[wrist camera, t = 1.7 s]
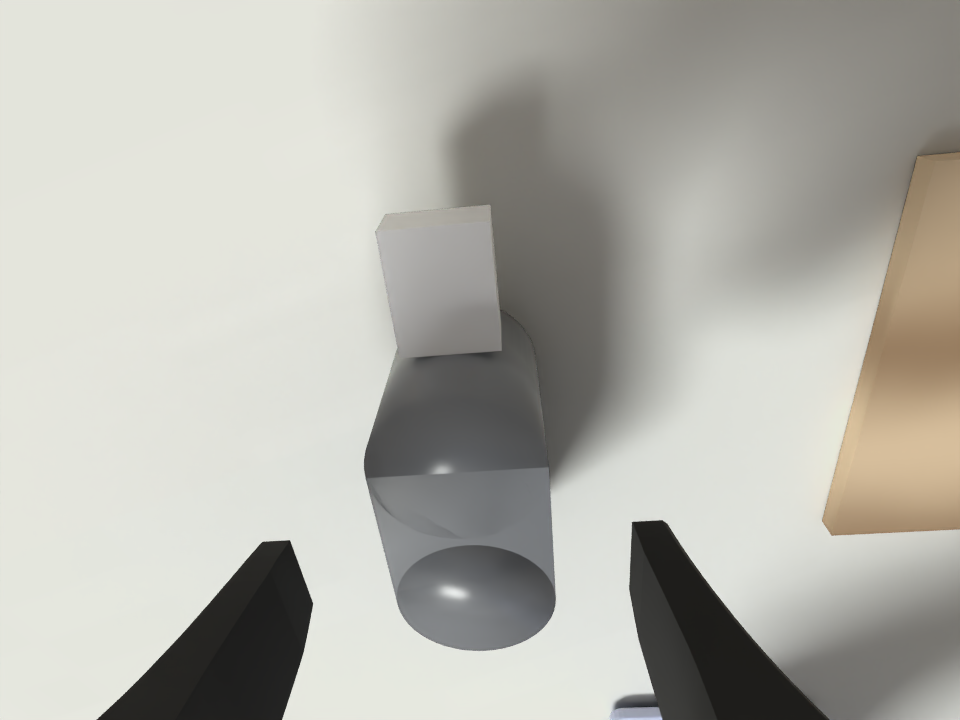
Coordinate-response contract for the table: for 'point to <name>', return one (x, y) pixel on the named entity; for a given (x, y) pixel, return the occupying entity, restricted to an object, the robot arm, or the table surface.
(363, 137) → the table surface
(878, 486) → the pad
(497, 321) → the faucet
